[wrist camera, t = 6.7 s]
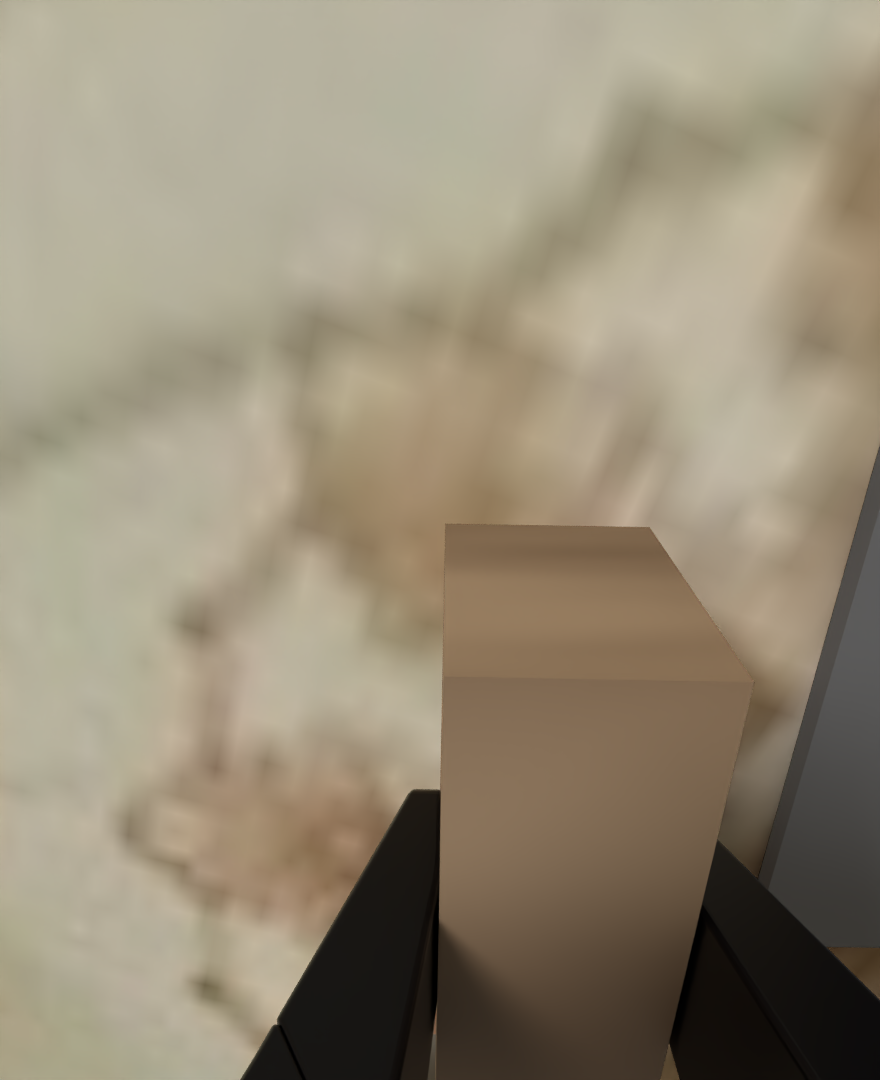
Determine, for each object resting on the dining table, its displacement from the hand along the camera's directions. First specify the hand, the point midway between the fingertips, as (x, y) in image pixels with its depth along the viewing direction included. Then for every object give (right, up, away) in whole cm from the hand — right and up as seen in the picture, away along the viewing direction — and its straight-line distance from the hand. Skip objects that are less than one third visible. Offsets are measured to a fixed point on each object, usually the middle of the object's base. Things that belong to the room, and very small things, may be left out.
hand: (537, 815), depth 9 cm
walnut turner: (0, -3, +2) cm, 4 cm away
